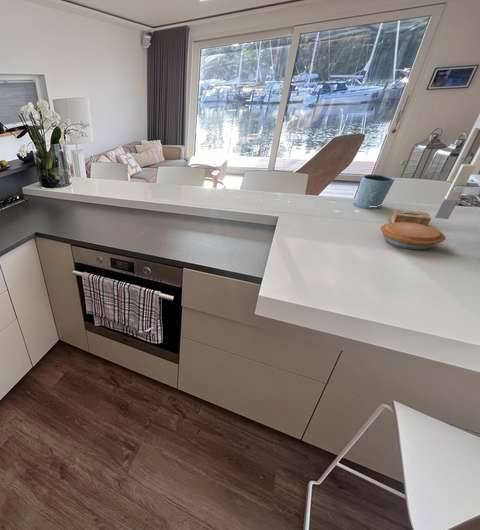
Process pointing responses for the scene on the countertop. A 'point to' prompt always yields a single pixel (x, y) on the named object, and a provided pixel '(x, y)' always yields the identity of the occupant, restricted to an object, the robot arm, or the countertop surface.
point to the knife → (453, 197)
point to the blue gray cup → (373, 190)
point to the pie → (411, 235)
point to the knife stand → (411, 217)
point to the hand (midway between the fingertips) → (452, 187)
